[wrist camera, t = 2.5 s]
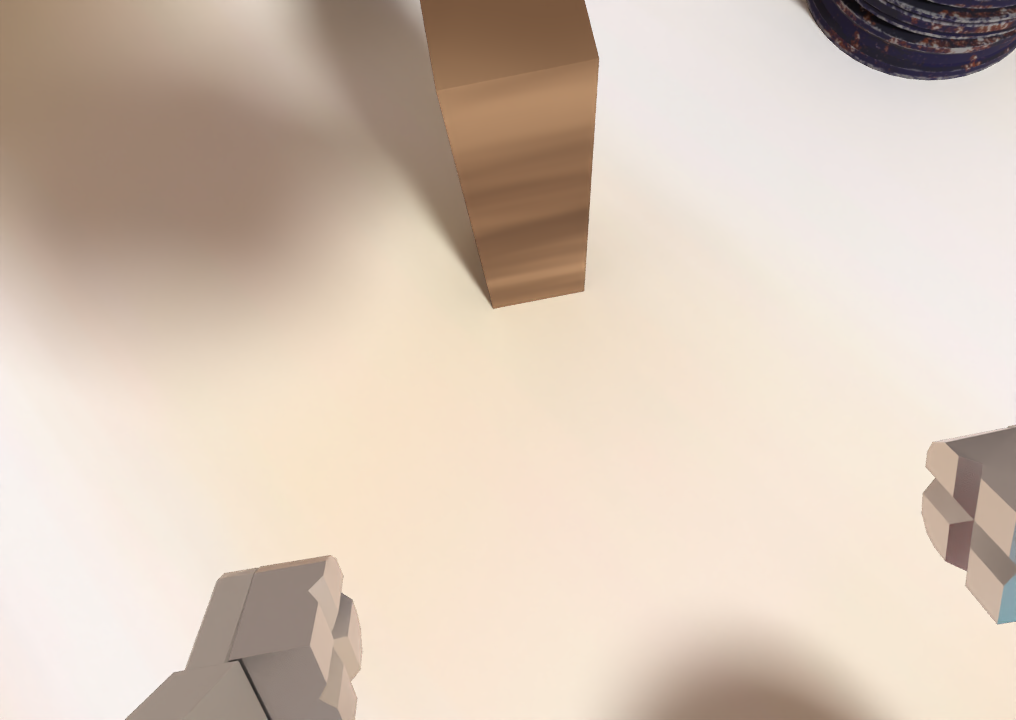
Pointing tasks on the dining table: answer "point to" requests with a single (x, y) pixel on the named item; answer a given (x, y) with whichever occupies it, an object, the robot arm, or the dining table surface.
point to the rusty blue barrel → (920, 34)
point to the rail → (520, 135)
